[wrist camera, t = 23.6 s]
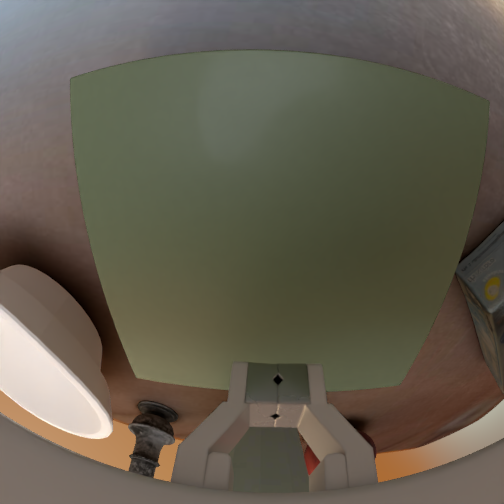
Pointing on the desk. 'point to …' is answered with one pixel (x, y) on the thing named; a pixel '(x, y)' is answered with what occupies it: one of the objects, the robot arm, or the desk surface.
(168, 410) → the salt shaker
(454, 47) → the desk surface
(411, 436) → the desk surface
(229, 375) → the lid
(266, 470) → the disposable coffee cup
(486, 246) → the beverage carton
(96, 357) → the bowl
